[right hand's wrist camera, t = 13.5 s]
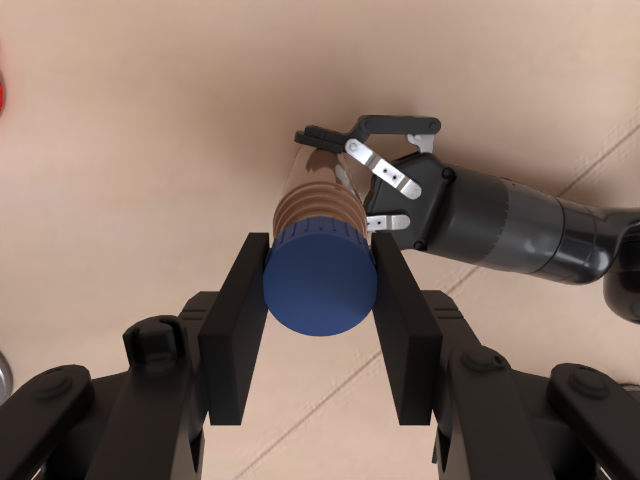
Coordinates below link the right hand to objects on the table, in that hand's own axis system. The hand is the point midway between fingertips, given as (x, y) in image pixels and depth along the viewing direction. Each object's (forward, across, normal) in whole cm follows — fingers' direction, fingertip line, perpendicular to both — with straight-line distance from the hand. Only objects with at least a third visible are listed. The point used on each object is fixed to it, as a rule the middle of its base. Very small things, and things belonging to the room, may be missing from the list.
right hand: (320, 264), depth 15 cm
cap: (-2, 0, 0) cm, 2 cm away
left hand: (+16, -2, +1) cm, 16 cm away
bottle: (+23, 0, 0) cm, 23 cm away
